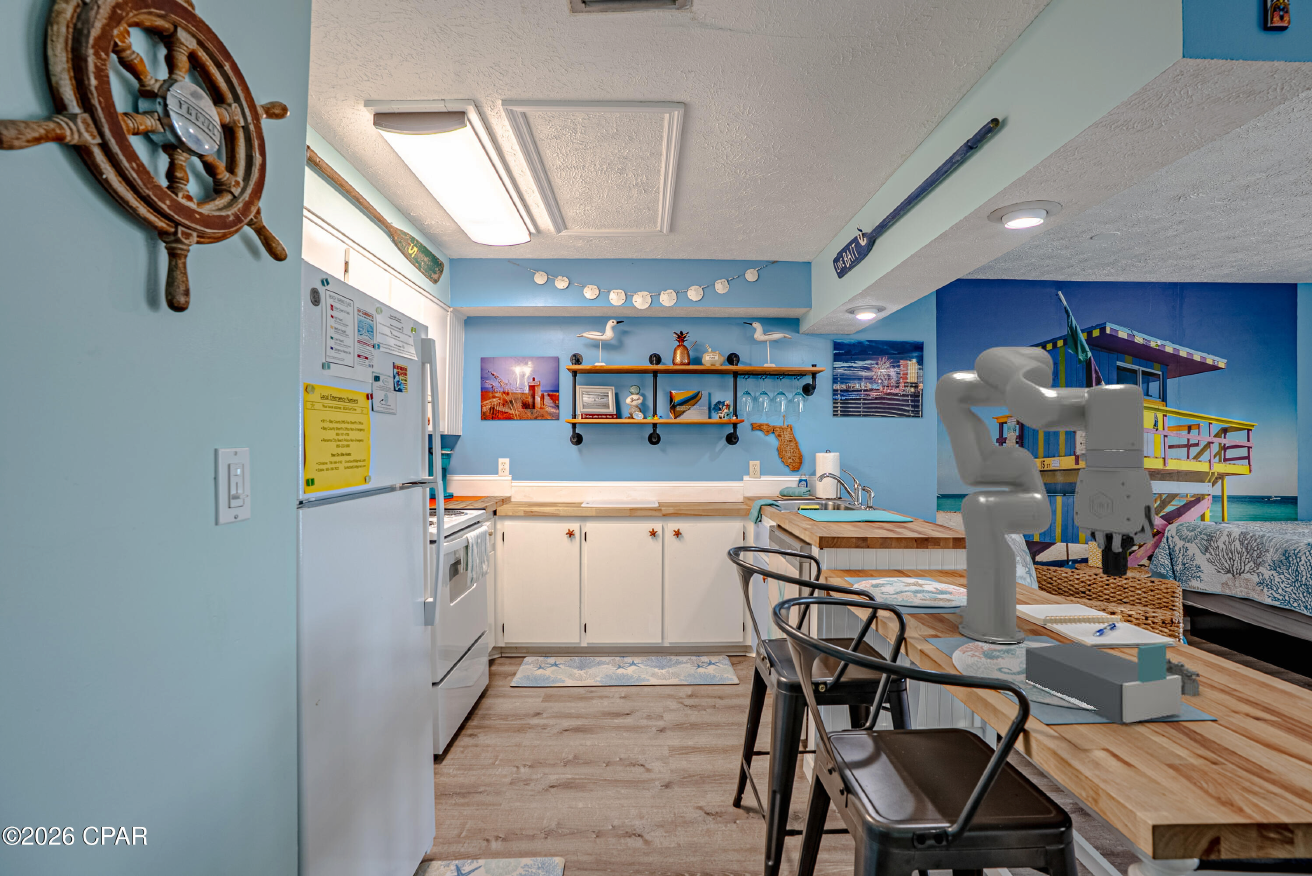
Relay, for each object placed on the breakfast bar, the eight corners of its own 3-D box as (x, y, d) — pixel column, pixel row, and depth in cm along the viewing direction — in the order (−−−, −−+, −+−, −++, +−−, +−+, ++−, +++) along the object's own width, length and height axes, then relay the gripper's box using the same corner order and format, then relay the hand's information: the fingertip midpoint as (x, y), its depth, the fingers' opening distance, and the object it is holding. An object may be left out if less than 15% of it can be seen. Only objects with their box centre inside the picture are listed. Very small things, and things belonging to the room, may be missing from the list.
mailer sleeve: (1025, 682, 104) (1025, 648, 104) (1077, 674, 108) (1077, 641, 108) (1119, 724, 89) (1119, 684, 89) (1176, 713, 92) (1176, 675, 92)
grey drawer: (1029, 679, 104) (1028, 618, 104) (1078, 672, 107) (1078, 612, 107) (1127, 722, 88) (1126, 650, 88) (1181, 712, 91) (1181, 642, 91)
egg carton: (1202, 700, 98) (1202, 675, 98) (1144, 690, 102) (1144, 666, 102) (1188, 677, 107) (1188, 655, 107) (1134, 669, 111) (1134, 647, 111)
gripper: (1053, 460, 102) (1053, 567, 101) (1146, 463, 87) (1147, 587, 87) (1086, 459, 104) (1086, 564, 104) (1182, 462, 89) (1183, 584, 89)
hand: (1114, 574), depth 95 cm, fingers closed
